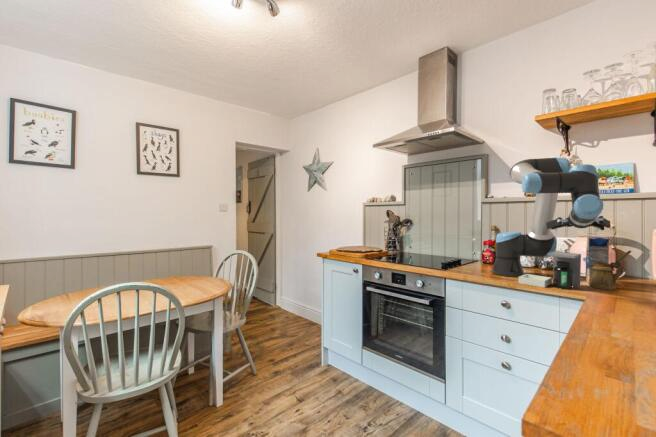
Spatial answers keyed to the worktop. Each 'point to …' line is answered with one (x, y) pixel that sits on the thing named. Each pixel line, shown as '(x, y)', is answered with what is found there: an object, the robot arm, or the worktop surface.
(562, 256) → the bay
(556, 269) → the supplement bottle
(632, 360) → the worktop surface
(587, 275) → the beverage box
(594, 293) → the worktop surface
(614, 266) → the wooden mug
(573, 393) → the worktop surface
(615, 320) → the worktop surface
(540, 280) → the tray
